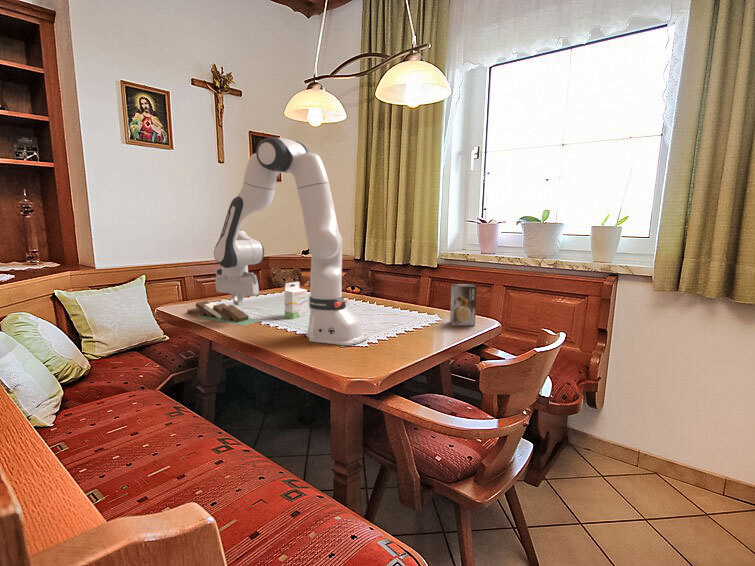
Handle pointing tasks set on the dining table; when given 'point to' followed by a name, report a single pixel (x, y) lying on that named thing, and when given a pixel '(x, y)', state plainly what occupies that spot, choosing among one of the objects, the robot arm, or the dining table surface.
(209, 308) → the ivory domino
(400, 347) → the dining table surface
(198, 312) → the domino
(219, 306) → the domino
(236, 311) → the domino
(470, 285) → the coffee box
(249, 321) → the felt mat
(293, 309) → the ink box
